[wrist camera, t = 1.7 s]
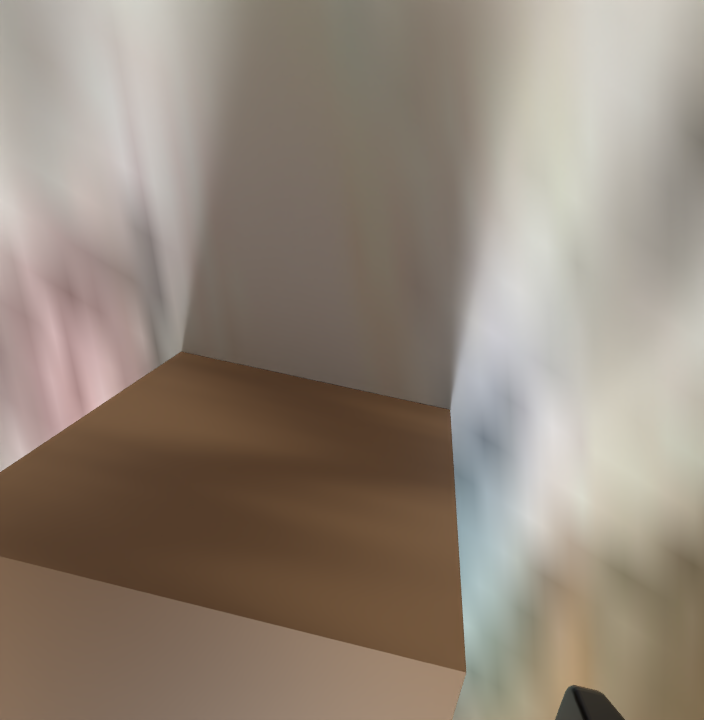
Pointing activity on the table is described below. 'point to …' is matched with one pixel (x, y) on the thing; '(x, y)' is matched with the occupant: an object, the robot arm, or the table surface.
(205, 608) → the walnut block
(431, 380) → the table surface
